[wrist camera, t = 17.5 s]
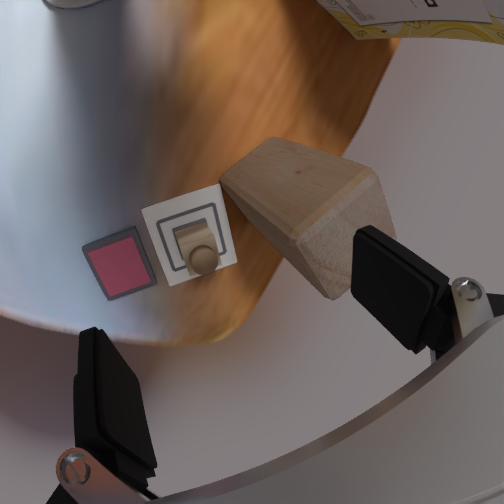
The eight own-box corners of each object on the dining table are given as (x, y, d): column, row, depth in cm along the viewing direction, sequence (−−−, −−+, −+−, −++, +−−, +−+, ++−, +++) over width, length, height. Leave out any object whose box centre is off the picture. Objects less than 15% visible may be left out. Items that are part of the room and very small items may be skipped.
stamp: (171, 228, 40) (180, 254, 34) (204, 217, 41) (219, 240, 35) (181, 257, 42) (192, 285, 37) (212, 246, 44) (227, 272, 38)
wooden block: (272, 132, 39) (379, 166, 23) (303, 186, 45) (401, 242, 29) (214, 177, 39) (290, 242, 23) (253, 227, 45) (333, 307, 29)
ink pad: (82, 246, 36) (81, 250, 35) (135, 226, 38) (135, 230, 37) (108, 296, 41) (108, 301, 40) (156, 279, 43) (157, 284, 42)
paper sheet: (140, 209, 37) (141, 209, 37) (219, 183, 40) (220, 183, 39) (169, 286, 44) (170, 287, 44) (237, 261, 47) (237, 262, 46)
